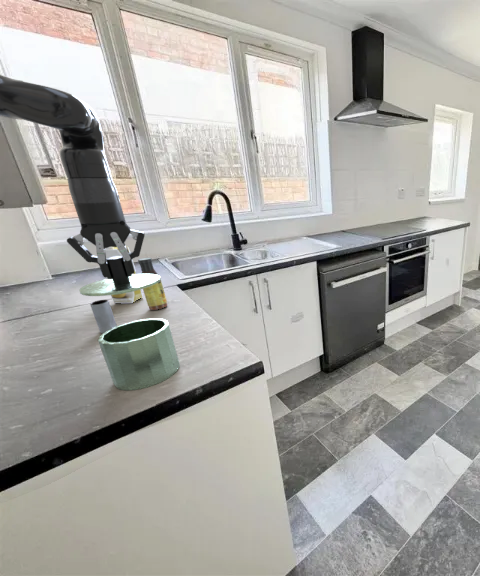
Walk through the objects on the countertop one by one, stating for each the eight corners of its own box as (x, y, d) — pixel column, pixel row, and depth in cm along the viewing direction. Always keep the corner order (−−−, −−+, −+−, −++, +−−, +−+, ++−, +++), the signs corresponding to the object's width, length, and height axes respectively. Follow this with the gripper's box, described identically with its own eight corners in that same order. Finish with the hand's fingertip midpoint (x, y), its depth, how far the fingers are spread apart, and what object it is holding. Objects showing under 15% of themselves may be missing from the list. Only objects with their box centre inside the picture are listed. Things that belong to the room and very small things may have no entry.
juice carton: (110, 304, 126) (90, 246, 118) (124, 297, 133) (107, 243, 125) (133, 304, 126) (115, 246, 118) (146, 297, 133) (131, 242, 126)
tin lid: (75, 304, 63) (62, 270, 61) (86, 285, 74) (76, 256, 72) (162, 289, 71) (154, 259, 69) (160, 274, 82) (153, 248, 80)
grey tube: (99, 334, 101) (88, 305, 97) (101, 329, 104) (91, 301, 101) (116, 331, 103) (107, 302, 100) (118, 326, 107) (109, 298, 103)
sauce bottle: (169, 307, 122) (156, 258, 115) (150, 312, 118) (135, 261, 111) (166, 303, 126) (153, 256, 120) (147, 307, 122) (133, 259, 116)
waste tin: (112, 398, 71) (94, 350, 67) (117, 370, 81) (102, 327, 77) (181, 376, 78) (169, 332, 74) (177, 354, 89) (167, 314, 84)
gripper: (46, 203, 59) (76, 287, 65) (137, 199, 67) (157, 275, 73) (55, 201, 65) (82, 279, 71) (138, 198, 73) (156, 268, 79)
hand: (120, 276), depth 72 cm, fingers closed on tin lid, 3 cm apart
